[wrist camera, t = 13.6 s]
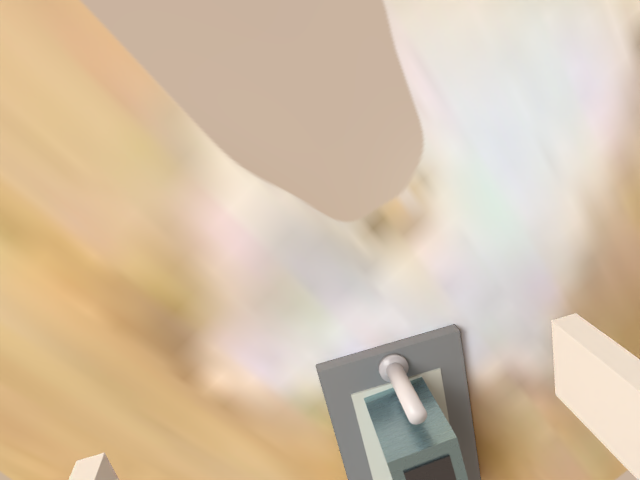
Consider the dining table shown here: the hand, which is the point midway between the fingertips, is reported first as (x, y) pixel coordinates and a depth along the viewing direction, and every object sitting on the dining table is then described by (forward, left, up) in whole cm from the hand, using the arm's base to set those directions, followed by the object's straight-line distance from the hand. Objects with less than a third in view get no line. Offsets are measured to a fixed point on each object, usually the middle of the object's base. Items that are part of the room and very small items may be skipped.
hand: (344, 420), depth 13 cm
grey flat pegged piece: (-6, +27, -27) cm, 38 cm away
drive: (-6, +27, -25) cm, 37 cm away
